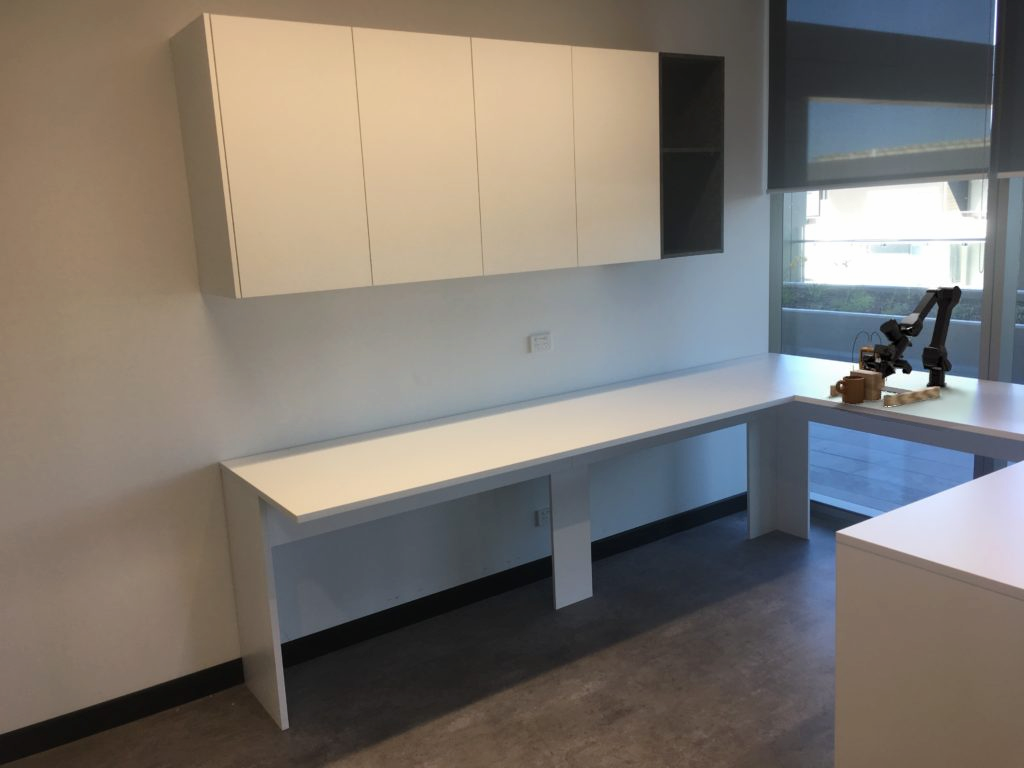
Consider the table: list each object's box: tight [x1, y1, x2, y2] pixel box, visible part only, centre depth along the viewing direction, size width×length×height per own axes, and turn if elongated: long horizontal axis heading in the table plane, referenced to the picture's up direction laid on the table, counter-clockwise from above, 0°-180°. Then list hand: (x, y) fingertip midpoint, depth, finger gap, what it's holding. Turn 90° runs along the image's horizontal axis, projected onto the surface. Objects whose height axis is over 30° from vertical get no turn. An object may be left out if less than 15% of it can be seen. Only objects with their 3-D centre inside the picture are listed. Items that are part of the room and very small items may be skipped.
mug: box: [835, 375, 865, 405], centre depth 304 cm, size 12×8×9 cm, turn 113°
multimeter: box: [851, 331, 888, 382], centre depth 340 cm, size 15×10×20 cm
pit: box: [881, 385, 913, 394], centre depth 317 cm, size 7×21×1 cm, turn 27°
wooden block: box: [849, 368, 882, 403], centre depth 307 cm, size 5×10×10 cm, turn 27°
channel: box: [829, 378, 941, 408], centre depth 312 cm, size 28×26×4 cm
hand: (875, 381), depth 309 cm, fingers closed
